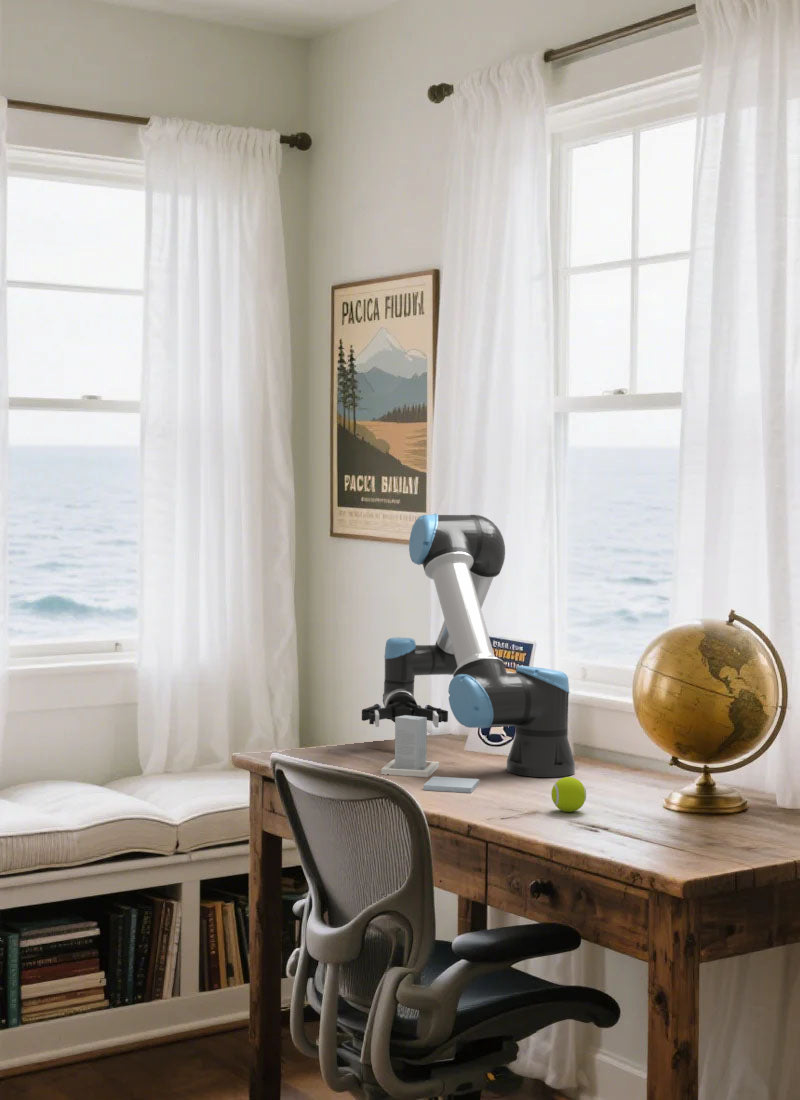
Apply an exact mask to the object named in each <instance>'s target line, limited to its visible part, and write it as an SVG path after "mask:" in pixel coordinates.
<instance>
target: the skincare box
mask: <svg viewBox="0 0 800 1100" xmlns="http://www.w3.org/2000/svg"><path fill="white" fill-rule="evenodd" d="M427 731H428V720H427V717H417V716H408V715H404V716H399V717H395V722H394V759H395V768H394V769H408V770H425V769H426V768H427V767H426V761H428V760H427V759H428V758H427V757H428V756H427V746H428V745H427V741H428V737H427V736H428V733H427Z"/></svg>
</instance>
